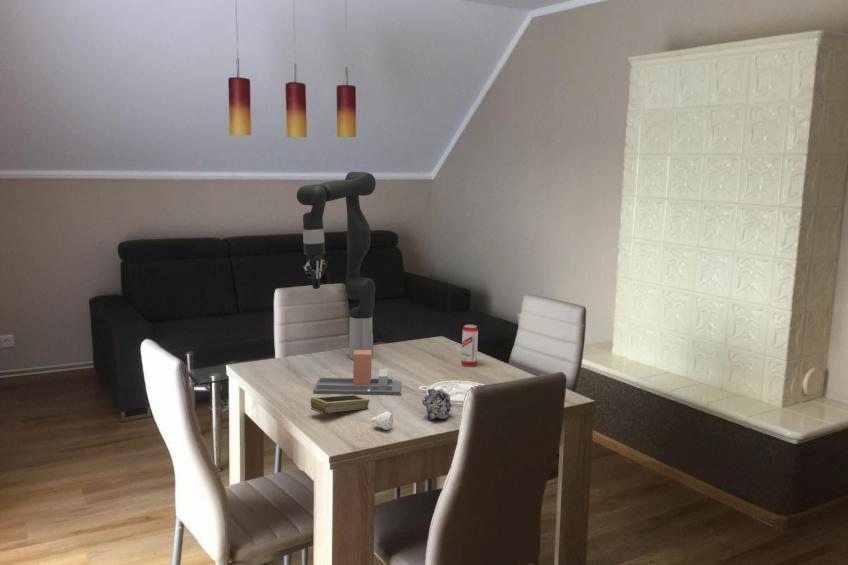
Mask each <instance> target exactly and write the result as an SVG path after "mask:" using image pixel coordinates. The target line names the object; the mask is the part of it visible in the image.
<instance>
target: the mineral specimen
mask: <svg viewBox="0 0 848 565" xmlns="http://www.w3.org/2000/svg"><path fill="white" fill-rule="evenodd" d="M428 393H429V394H428V395H426V394H425V396H424V399H421V402H422V405H423V406H425V408H426V413H427V416H428V420H429V421H432V420H434V419H435V420H436V419H437V418H438V419H443V420H444V419H448V417H449V414H450V412H451V408H452V407H453V406H452V404H451V403H450V395H449V394H447V393H445V392H443V390H442V389H439V390H437V391H436V389H429V390H428Z"/></svg>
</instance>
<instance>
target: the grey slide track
mask: <svg viewBox="0 0 848 565" xmlns="http://www.w3.org/2000/svg"><path fill="white" fill-rule="evenodd" d="M388 371H389V369H388V368H379V371H378V378H377V377H375V378H373V377H371V385H353V377H321V376H320V377H319V379H318V380H317V381H316V383H315V386H314V388H313V395H348V394H355V395H358V396H359V395H360V396H361V395H362V396H363V395H371V396H401V394H402V392H401V387H402V386H401V385H402V384H401V383H402V381H395V380H393V378H389V375H388V374H389V372H388Z"/></svg>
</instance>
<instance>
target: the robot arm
mask: <svg viewBox="0 0 848 565" xmlns="http://www.w3.org/2000/svg"><path fill="white" fill-rule="evenodd" d="M376 186H377V183H376V178H375V176H374V175H373V174H372V173H370V172H368V171H349V172H348V173H347V174H346V175H345V179H340V180H338V179H337V180H330V181H326V182H325V181H324V182H322V183H318V184H306V185H303V186H301V187H299V189H298V190H297V192H296V199H297V201H298V202H299V203H300V204H301V205H303V206H311V210H310V211H307V212H305V213H304V214H303V215H302V224H303V228H302V229H303V234H302V236H303V241H302V242H303V255H305V256H306V260H305V262H306V264H304V265H302V270H303V271H304V273H305V275H306V276H307V278H309V279H311V280H312V289H315V290H317V289H320V288H321V277H322V276H324V274H325V271H326V269H327V266H328V261H327V260H325V259H324V255H325V253H326V245H325V244H326V243H325V232H324V218H323V217H324V213H325V207H326V204H327V202H332V201H336V200H340V199H344V198H345V204H346V205H345V206H346V222H347V223H346V224H347V225H346V226H347V227H346V230H347V231H346V241H347V242H346V245H347V262H346V263H347V264H346V276H345V277H346V278H345V293H346V296H347V297H348V298H349V299H351V300H358V301H359V305H358V306H356V307H353V308H351V309H350V310H349V348H348V350H349V354H348V355H349V357H348V358H349V359H351V360H353V358H354V351H355V350H372V357H373V356H374V347H373V346H374V333H373V314H374V309H375V299H376V298H375V297H376V286H375V285H376V284H375V282H374V280H373V278H368V277H361V276H360V275H361V273H360V272H361V270H360V269H361V265H362V262H363V260H364V258H365V256H366V254H367V253H368V252H369V249H370V246H371V227H370V224H369V222H368V221H367V219H366V217H365V215H364V213H363V211H362V208H361V205H360V196H363V197H365V196H369V195H372V194H373V193H374V191H375V189H376Z"/></svg>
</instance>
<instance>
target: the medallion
mask: <svg viewBox="0 0 848 565" xmlns="http://www.w3.org/2000/svg"><path fill="white" fill-rule="evenodd" d="M478 385H484V384H483V383H481V382H475V381H468V380H460V379H459V380H458V379H457V380H445V381H443V380H441V381H439V382H434V383H431V384H430V385H428V386H427V385H422V386H418V392H419V393H421V394H423V393H424V394H425V396H426V395H428V394H429V393H428V390H429V389H436V391H437V390H439V389H442V390H443V392H445V393H447V394H449V395H450V403H451V404H452V407H455V408H457V407H458V408H464V407H463V402H464V398H465V395H466V393H467V391H468V390H469V389H470V388H471V387H474V386H478Z"/></svg>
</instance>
